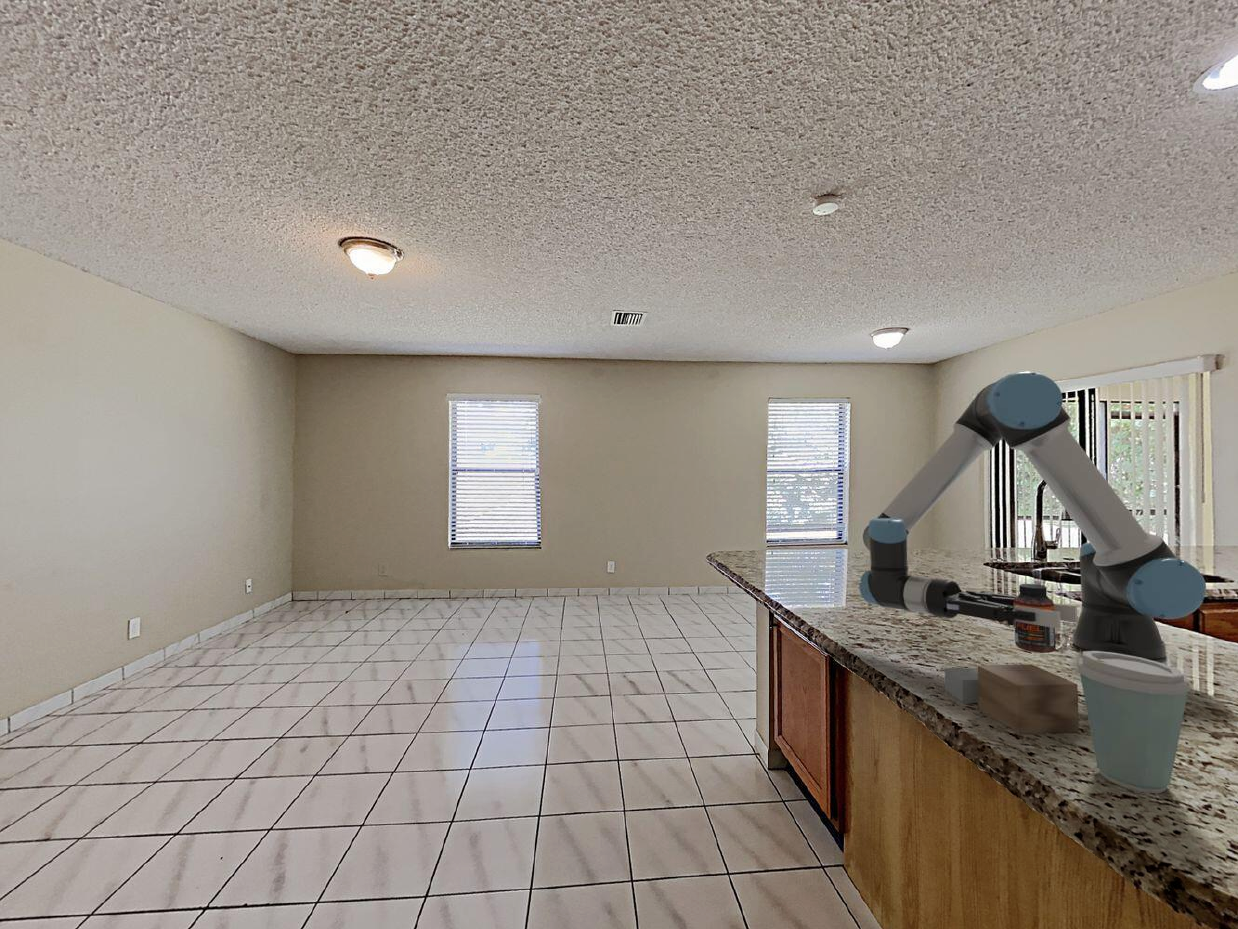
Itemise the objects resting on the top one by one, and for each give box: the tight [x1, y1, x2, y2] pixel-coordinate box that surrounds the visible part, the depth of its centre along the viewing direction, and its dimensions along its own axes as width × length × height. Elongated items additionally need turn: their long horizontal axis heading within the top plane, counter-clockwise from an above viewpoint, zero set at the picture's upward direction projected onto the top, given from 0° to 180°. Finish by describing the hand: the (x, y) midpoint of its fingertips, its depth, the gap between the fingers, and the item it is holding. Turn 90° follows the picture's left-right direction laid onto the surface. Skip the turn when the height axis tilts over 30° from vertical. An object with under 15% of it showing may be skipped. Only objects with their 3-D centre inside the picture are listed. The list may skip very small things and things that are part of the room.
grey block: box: [944, 667, 979, 704], centre depth 98 cm, size 6×6×4 cm
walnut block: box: [977, 664, 1080, 735], centre depth 88 cm, size 9×9×7 cm
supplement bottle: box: [1013, 583, 1057, 654], centre depth 102 cm, size 6×6×11 cm
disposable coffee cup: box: [1076, 650, 1192, 794], centre depth 70 cm, size 11×11×15 cm
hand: (1067, 617), depth 98 cm, fingers closed on supplement bottle, 6 cm apart
